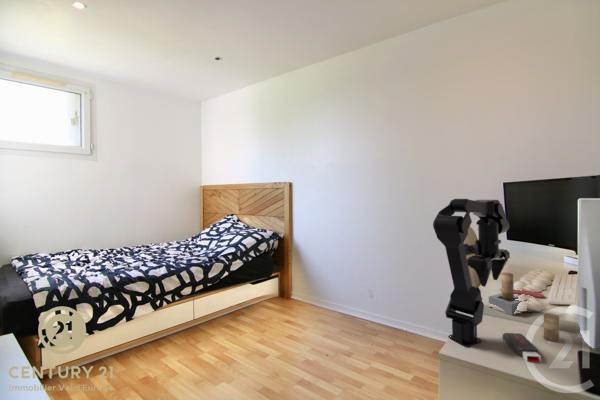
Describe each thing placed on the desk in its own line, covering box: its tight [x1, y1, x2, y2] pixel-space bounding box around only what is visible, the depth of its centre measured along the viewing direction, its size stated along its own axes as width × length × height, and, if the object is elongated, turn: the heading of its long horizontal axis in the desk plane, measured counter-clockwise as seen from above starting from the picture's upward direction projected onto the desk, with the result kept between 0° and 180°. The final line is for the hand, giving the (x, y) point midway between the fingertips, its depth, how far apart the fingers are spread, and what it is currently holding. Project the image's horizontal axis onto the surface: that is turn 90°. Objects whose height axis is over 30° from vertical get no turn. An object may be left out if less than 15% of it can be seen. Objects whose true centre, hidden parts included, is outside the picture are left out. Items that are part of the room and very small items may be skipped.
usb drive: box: [502, 332, 542, 363], centre depth 86 cm, size 5×12×3 cm, turn 168°
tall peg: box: [500, 272, 515, 302], centre depth 112 cm, size 4×4×13 cm
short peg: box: [543, 312, 560, 343], centre depth 90 cm, size 4×4×7 cm
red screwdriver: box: [499, 288, 545, 300], centre depth 125 cm, size 4×2×15 cm
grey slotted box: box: [488, 292, 528, 316], centre depth 112 cm, size 8×8×4 cm
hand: (489, 282), depth 103 cm, fingers open, 9 cm apart
